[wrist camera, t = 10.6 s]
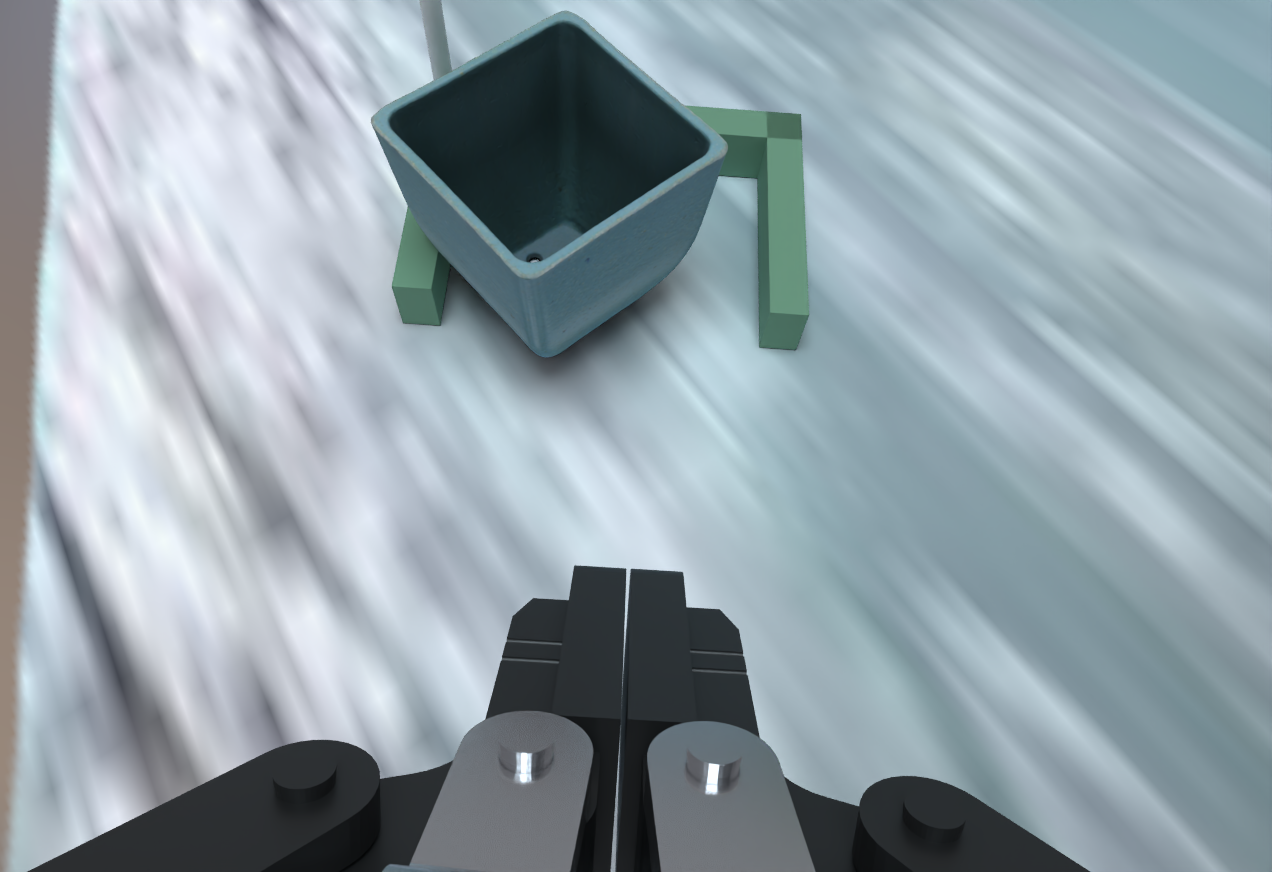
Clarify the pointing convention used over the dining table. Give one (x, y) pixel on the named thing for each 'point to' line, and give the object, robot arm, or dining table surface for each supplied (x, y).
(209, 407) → the dining table surface
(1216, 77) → the dining table surface
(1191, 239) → the dining table surface
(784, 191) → the green u-shaped frame
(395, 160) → the flower pot
